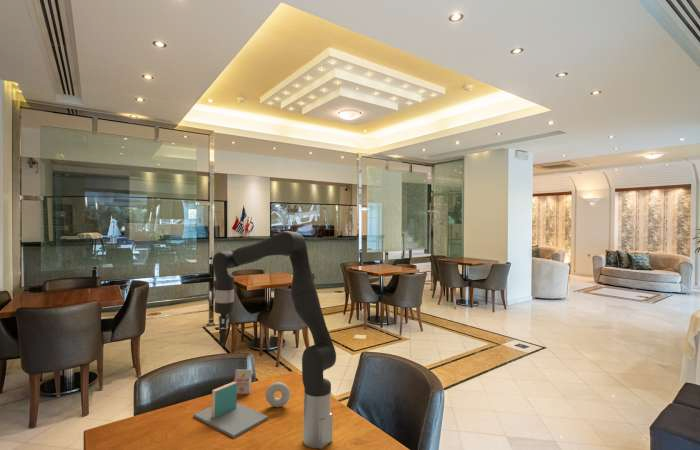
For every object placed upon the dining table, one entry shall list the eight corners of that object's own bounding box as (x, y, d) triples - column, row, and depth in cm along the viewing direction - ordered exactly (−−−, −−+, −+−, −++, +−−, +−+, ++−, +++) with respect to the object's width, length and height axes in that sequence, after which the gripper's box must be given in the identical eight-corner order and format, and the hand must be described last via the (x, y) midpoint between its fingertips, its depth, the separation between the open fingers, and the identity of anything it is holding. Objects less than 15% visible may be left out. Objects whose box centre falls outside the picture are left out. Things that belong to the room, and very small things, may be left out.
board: (268, 418, 140) (268, 416, 140) (233, 438, 127) (233, 435, 127) (228, 401, 154) (228, 398, 154) (193, 416, 141) (193, 414, 141)
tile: (236, 407, 146) (237, 382, 146) (214, 418, 138) (215, 391, 138) (233, 406, 147) (233, 381, 147) (211, 416, 139) (212, 390, 139)
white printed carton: (235, 390, 164) (236, 368, 164) (251, 390, 164) (251, 368, 164) (233, 394, 160) (234, 371, 160) (249, 394, 161) (249, 371, 161)
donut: (290, 404, 152) (291, 380, 152) (289, 409, 148) (289, 384, 148) (266, 404, 152) (267, 380, 152) (264, 408, 148) (265, 384, 148)
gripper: (233, 303, 143) (232, 345, 143) (234, 296, 157) (233, 334, 157) (213, 304, 141) (211, 346, 141) (216, 297, 155) (214, 335, 155)
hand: (223, 340), depth 149 cm, fingers open, 8 cm apart
